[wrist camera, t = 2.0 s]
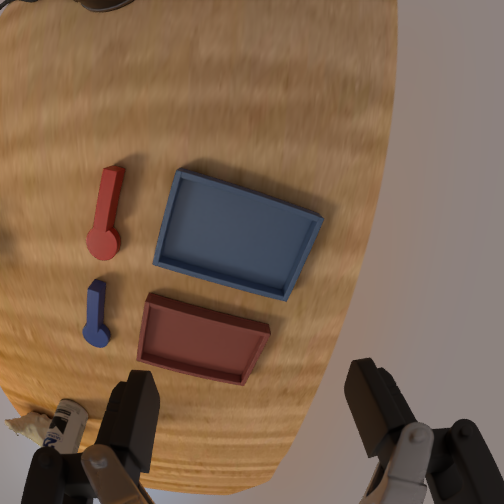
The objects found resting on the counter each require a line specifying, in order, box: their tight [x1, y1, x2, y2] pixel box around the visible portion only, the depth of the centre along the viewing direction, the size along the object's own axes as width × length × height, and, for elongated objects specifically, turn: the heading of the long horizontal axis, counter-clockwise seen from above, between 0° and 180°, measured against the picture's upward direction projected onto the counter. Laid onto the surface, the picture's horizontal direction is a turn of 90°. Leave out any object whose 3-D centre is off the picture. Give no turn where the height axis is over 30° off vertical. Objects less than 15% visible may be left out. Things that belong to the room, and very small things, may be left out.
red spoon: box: [86, 165, 125, 260], centre depth 27 cm, size 10×4×2 cm, turn 160°
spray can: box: [42, 399, 88, 454], centre depth 32 cm, size 7×7×20 cm
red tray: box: [137, 293, 271, 386], centre depth 35 cm, size 15×10×2 cm
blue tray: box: [153, 168, 324, 302], centre depth 29 cm, size 15×10×2 cm
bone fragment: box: [5, 412, 52, 447], centre depth 41 cm, size 15×7×15 cm
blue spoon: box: [83, 279, 111, 348], centre depth 32 cm, size 10×4×2 cm, turn 160°
